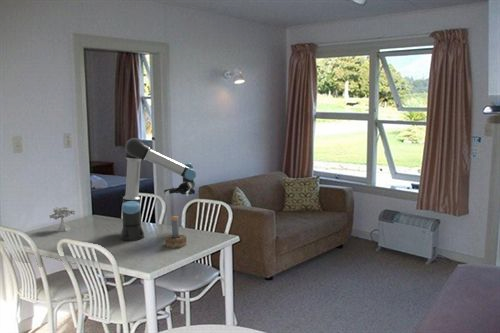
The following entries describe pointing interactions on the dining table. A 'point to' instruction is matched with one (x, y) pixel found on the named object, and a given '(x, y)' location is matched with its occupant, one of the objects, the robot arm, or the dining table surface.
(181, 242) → the brown ring
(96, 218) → the dining table surface
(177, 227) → the grey upright bar
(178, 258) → the dining table surface
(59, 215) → the grey branching stemmed part
